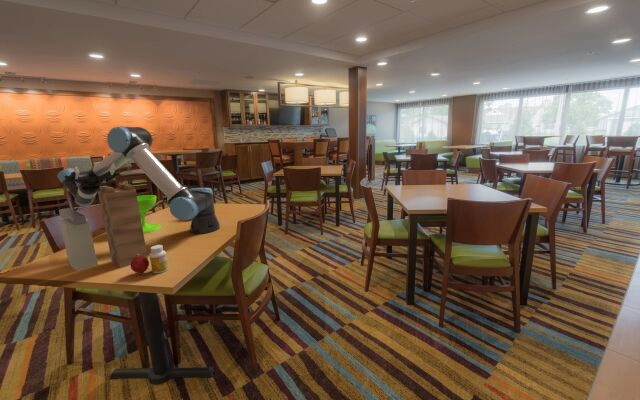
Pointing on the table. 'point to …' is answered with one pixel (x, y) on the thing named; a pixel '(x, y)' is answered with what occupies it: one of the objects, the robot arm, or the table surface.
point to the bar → (72, 216)
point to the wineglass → (144, 205)
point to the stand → (122, 223)
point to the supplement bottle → (158, 259)
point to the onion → (139, 264)
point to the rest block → (78, 245)
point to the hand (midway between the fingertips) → (96, 167)
